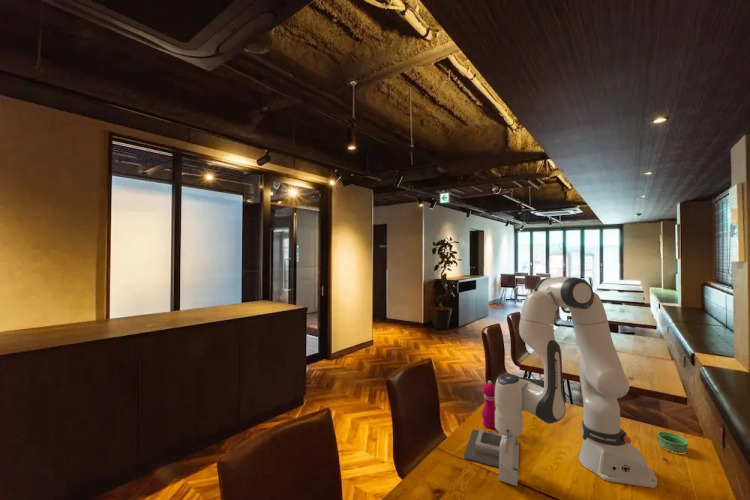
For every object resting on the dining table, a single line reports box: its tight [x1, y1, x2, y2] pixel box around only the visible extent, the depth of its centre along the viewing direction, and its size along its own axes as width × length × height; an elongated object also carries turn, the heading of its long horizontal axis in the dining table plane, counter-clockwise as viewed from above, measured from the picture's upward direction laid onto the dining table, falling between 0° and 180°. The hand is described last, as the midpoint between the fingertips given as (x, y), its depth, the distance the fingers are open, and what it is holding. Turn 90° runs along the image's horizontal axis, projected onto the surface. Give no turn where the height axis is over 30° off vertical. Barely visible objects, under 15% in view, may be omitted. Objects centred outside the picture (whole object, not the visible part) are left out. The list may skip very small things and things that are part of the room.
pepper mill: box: [481, 380, 496, 430], centre depth 147 cm, size 7×7×20 cm
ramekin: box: [657, 431, 689, 453], centre depth 129 cm, size 9×9×4 cm
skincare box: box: [498, 442, 520, 487], centre depth 112 cm, size 6×4×12 cm
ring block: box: [463, 428, 519, 469], centre depth 129 cm, size 18×20×4 cm
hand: (508, 464), depth 112 cm, fingers closed on skincare box, 4 cm apart
